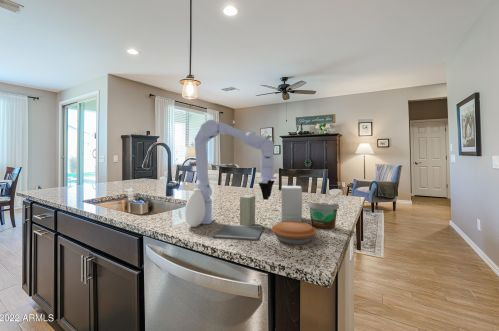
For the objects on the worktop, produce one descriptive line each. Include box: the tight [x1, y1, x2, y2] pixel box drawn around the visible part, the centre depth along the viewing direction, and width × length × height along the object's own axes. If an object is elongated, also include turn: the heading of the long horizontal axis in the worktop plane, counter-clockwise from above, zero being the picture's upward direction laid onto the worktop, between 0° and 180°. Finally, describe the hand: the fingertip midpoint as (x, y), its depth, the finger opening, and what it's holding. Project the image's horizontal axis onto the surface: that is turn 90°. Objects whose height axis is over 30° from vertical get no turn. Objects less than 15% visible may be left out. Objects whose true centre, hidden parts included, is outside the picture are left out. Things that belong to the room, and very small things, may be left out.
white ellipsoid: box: [184, 183, 205, 228], centre depth 97 cm, size 8×8×18 cm
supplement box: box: [281, 185, 303, 222], centre depth 109 cm, size 9×9×15 cm
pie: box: [271, 221, 318, 245], centre depth 84 cm, size 16×16×5 cm
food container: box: [307, 200, 340, 230], centre depth 96 cm, size 12×6×10 cm, turn 62°
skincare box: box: [239, 194, 256, 226], centre depth 101 cm, size 6×4×12 cm
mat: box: [212, 224, 264, 242], centre depth 90 cm, size 16×15×1 cm
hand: (266, 197), depth 106 cm, fingers open, 7 cm apart
